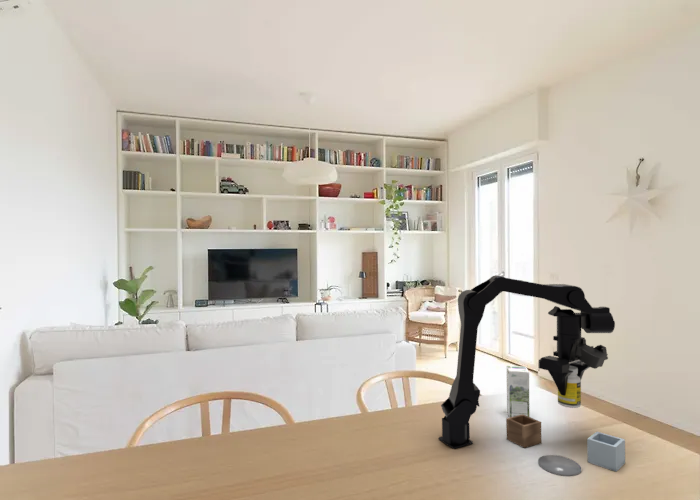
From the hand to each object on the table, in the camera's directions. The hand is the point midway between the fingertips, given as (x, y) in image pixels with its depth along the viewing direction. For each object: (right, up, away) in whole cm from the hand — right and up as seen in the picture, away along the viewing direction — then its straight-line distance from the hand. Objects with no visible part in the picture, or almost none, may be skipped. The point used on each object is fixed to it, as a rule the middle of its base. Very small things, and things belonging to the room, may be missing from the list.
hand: (569, 392), depth 112 cm
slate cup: (+3, -13, -11) cm, 17 cm away
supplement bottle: (0, -3, 0) cm, 3 cm away
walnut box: (-12, -13, +1) cm, 17 cm away
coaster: (-9, -13, -12) cm, 20 cm away
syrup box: (-6, -13, +18) cm, 23 cm away
